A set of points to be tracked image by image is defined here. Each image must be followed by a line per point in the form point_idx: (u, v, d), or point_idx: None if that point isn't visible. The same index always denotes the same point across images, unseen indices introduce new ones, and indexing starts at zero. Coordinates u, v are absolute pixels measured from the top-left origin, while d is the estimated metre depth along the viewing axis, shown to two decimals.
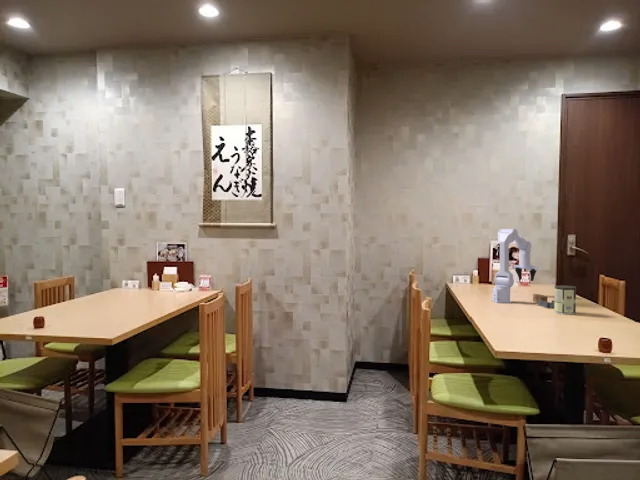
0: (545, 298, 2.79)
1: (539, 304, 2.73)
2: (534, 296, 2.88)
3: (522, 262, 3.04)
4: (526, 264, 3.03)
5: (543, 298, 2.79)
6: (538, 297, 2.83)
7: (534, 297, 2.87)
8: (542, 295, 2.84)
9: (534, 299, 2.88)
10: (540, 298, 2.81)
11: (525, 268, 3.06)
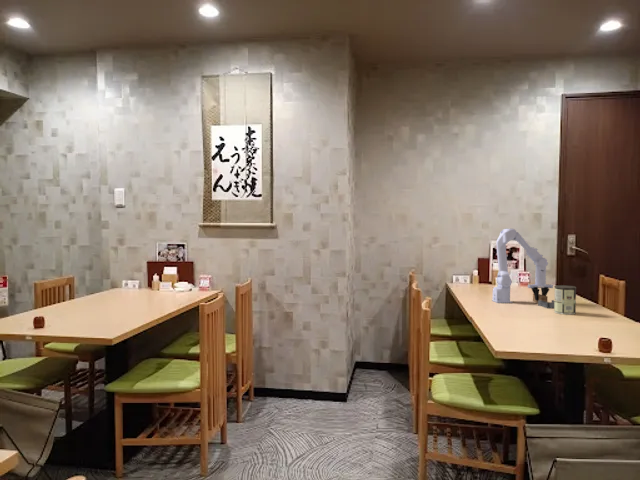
0: (545, 298, 2.80)
1: (539, 304, 2.73)
2: (534, 296, 2.88)
3: None
4: None
5: (543, 298, 2.79)
6: (538, 297, 2.83)
7: (534, 297, 2.87)
8: (542, 295, 2.84)
9: (534, 299, 2.88)
10: (540, 298, 2.81)
11: None
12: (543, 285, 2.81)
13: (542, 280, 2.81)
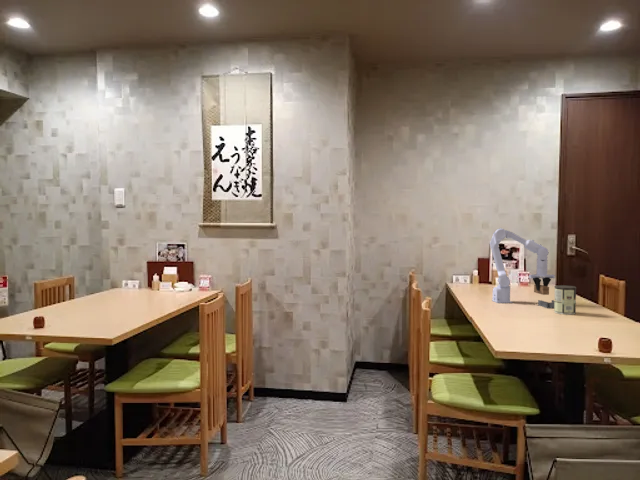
0: (547, 288, 2.74)
1: (539, 304, 2.73)
2: (535, 287, 2.82)
3: None
4: None
5: (545, 288, 2.74)
6: None
7: None
8: None
9: (535, 290, 2.82)
10: (541, 288, 2.76)
11: None
12: (545, 275, 2.75)
13: (544, 270, 2.76)
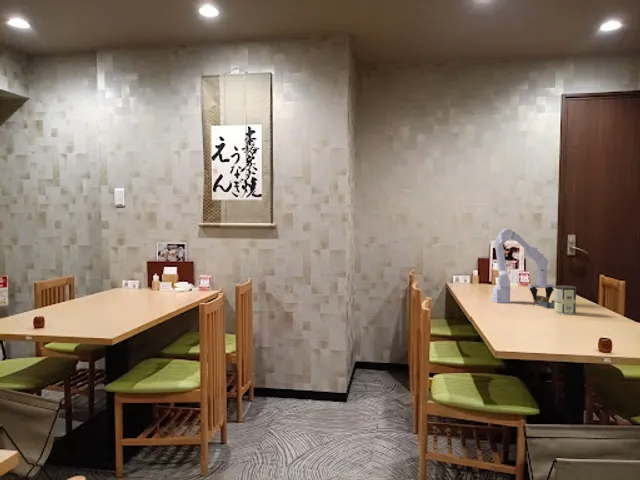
0: (546, 299, 2.74)
1: (539, 304, 2.73)
2: None
3: None
4: None
5: (544, 299, 2.74)
6: (539, 298, 2.78)
7: None
8: (543, 296, 2.79)
9: (535, 300, 2.82)
10: (541, 299, 2.76)
11: (541, 286, 2.79)
12: (544, 285, 2.76)
13: (544, 279, 2.76)
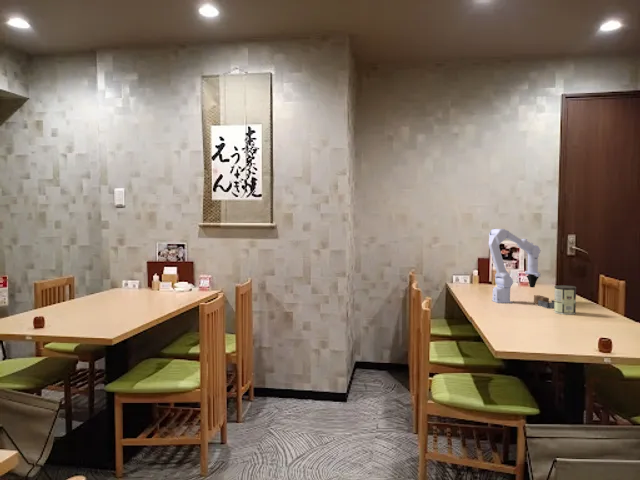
0: (546, 299, 2.74)
1: (539, 304, 2.73)
2: (535, 297, 2.83)
3: None
4: (530, 269, 2.87)
5: (544, 299, 2.74)
6: (539, 298, 2.78)
7: (536, 299, 2.82)
8: (543, 296, 2.79)
9: (535, 300, 2.82)
10: (541, 299, 2.76)
11: (532, 274, 2.89)
12: None
13: None
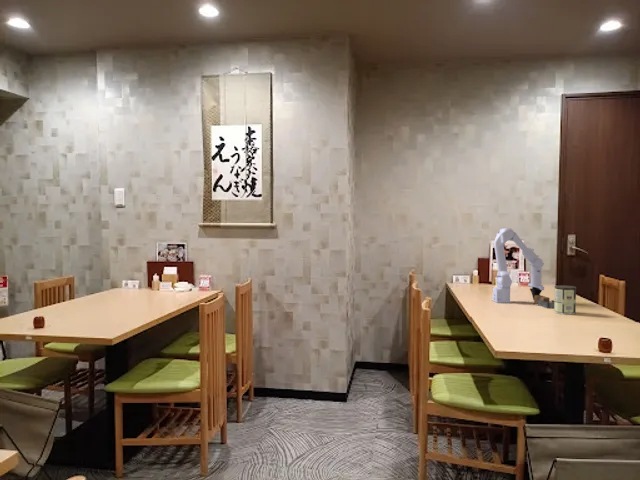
0: (547, 299, 2.74)
1: (539, 304, 2.73)
2: (536, 297, 2.82)
3: (531, 280, 2.86)
4: (533, 282, 2.83)
5: (545, 299, 2.74)
6: (540, 298, 2.77)
7: (536, 299, 2.81)
8: (544, 296, 2.78)
9: (536, 300, 2.82)
10: (542, 299, 2.75)
11: (535, 287, 2.85)
12: None
13: None
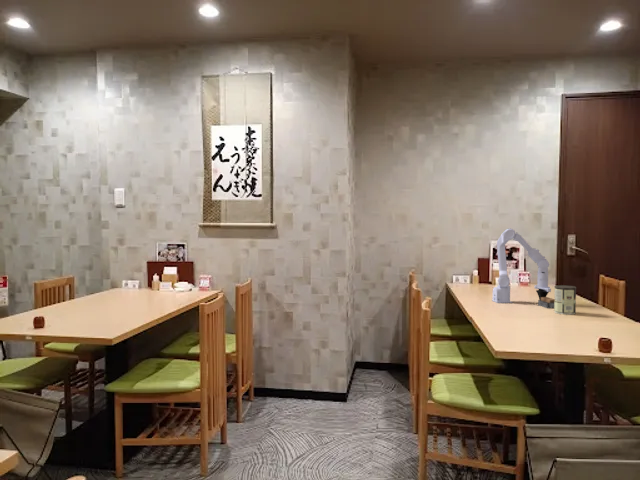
0: (554, 301, 2.67)
1: (539, 304, 2.73)
2: (542, 299, 2.75)
3: (537, 281, 2.78)
4: (540, 284, 2.76)
5: (552, 301, 2.67)
6: (546, 300, 2.70)
7: None
8: (550, 298, 2.71)
9: None
10: (548, 301, 2.68)
11: (541, 289, 2.78)
12: None
13: None
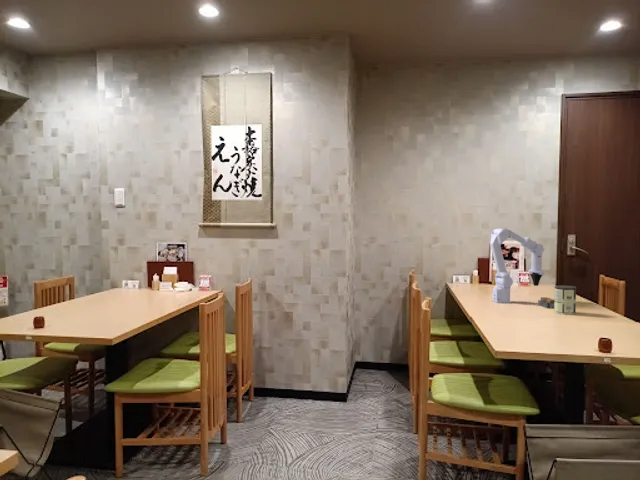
0: None
1: (539, 304, 2.73)
2: (542, 299, 2.75)
3: (531, 265, 2.89)
4: (534, 267, 2.87)
5: (552, 302, 2.67)
6: (546, 301, 2.70)
7: None
8: None
9: None
10: (548, 302, 2.68)
11: None
12: None
13: None
